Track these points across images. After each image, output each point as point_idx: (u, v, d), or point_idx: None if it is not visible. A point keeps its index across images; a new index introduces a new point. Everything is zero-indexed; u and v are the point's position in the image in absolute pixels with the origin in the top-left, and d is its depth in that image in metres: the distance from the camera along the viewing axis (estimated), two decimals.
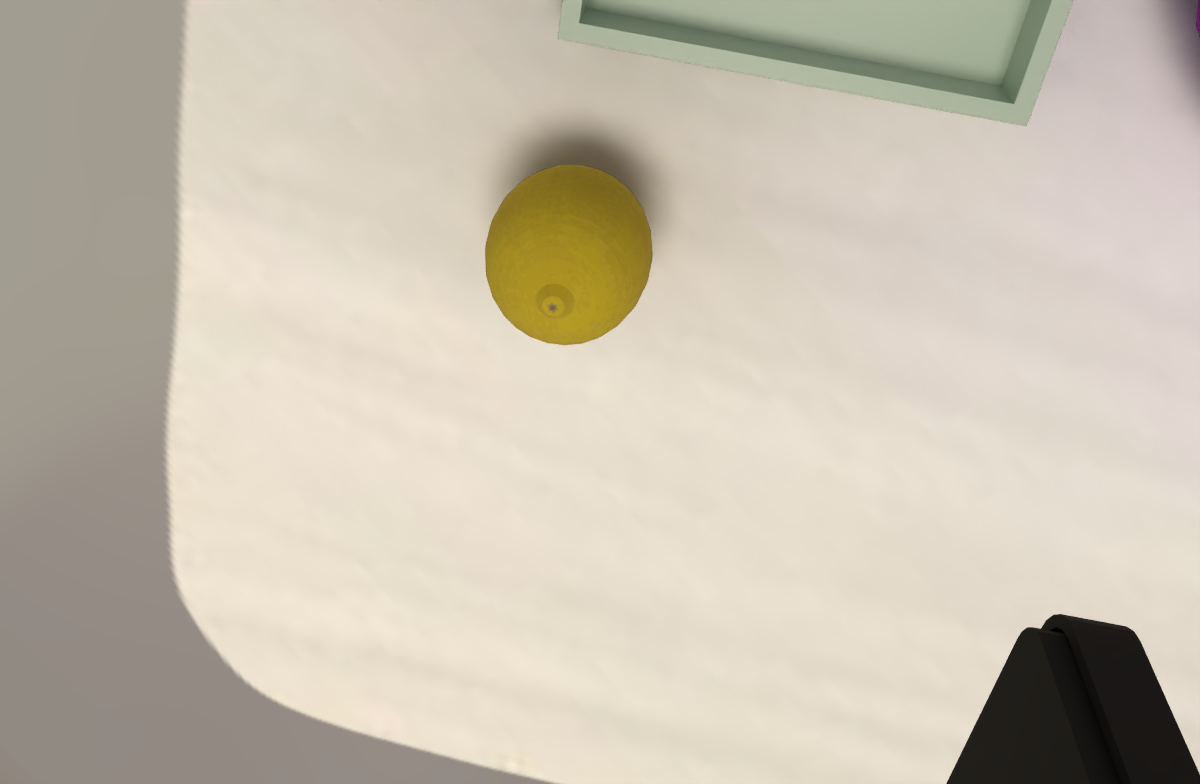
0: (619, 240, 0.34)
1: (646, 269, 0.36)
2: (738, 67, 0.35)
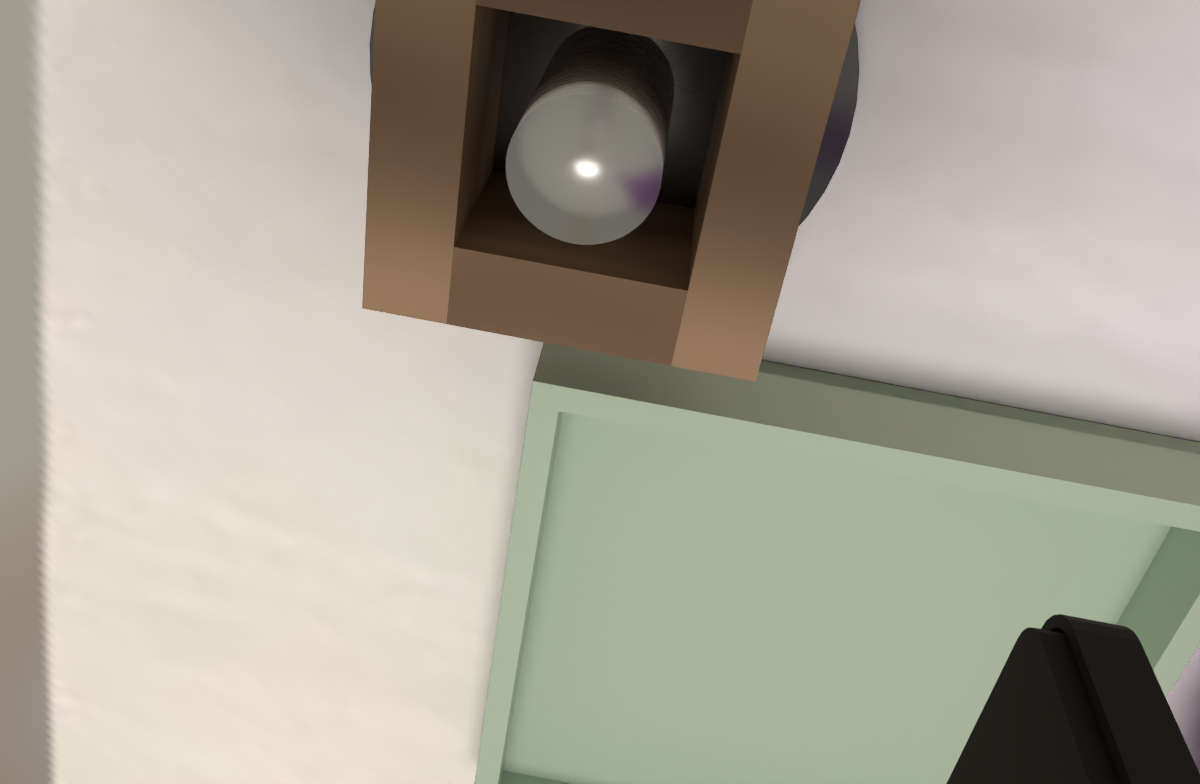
0: None
1: None
2: None
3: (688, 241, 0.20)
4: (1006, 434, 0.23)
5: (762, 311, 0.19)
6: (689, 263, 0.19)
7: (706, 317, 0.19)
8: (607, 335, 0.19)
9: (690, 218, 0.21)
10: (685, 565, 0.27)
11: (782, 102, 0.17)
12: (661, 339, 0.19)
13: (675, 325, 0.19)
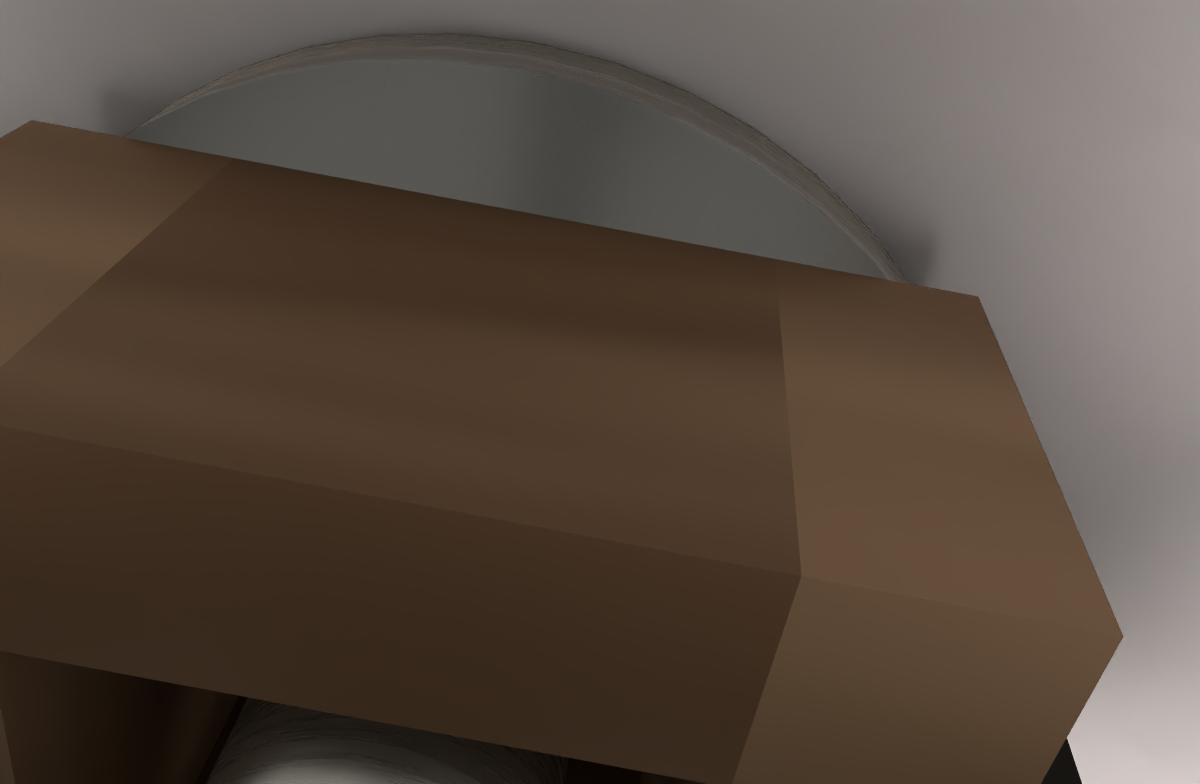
0: None
1: None
2: None
3: None
4: None
5: None
6: None
7: None
8: None
9: None
10: None
11: None
12: None
13: None
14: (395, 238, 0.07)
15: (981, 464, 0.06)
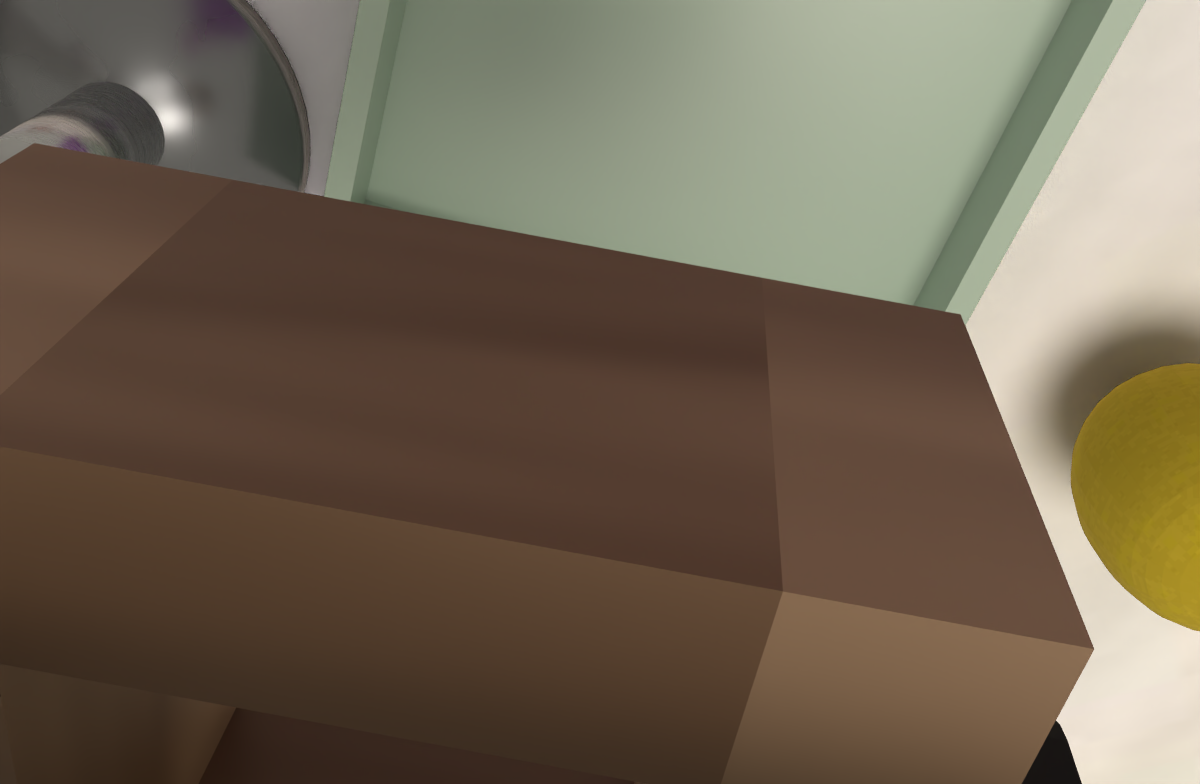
0: None
1: None
2: (1015, 220, 0.24)
3: None
4: None
5: None
6: None
7: None
8: None
9: None
10: (603, 131, 0.26)
11: None
12: None
13: None
14: (389, 258, 0.08)
15: (960, 481, 0.06)
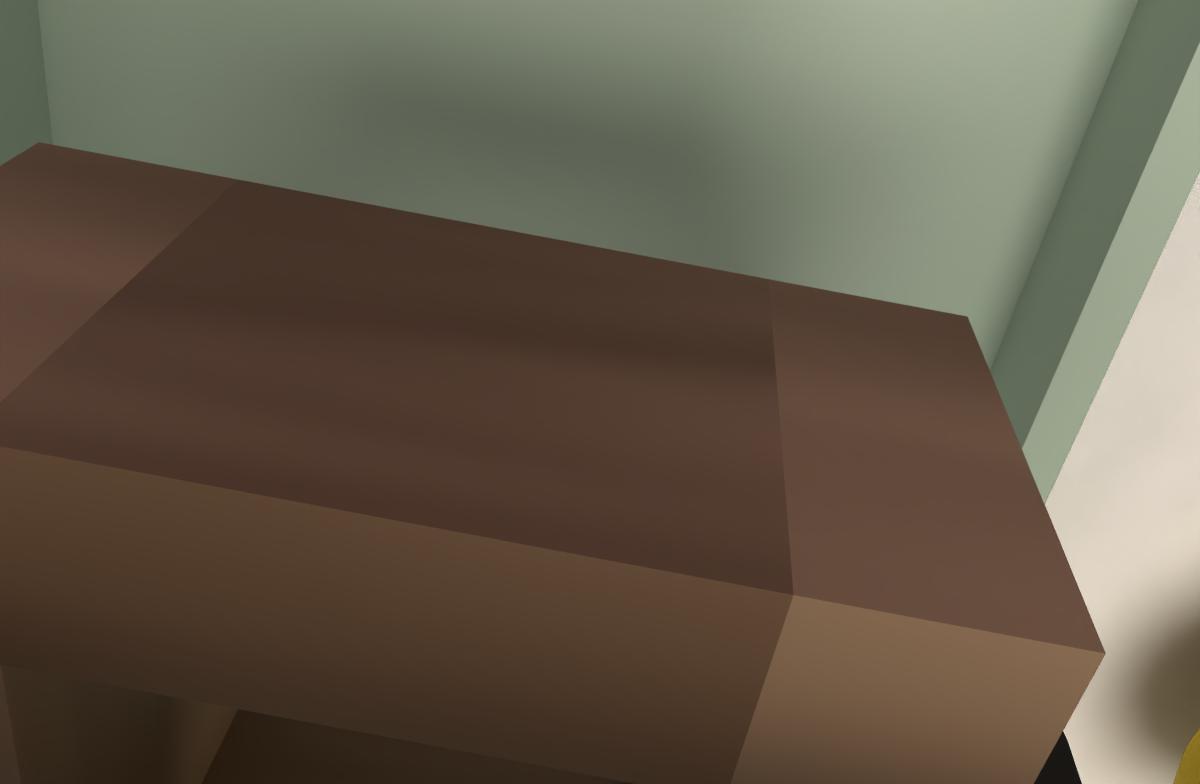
0: None
1: None
2: None
3: None
4: None
5: None
6: None
7: None
8: None
9: None
10: None
11: None
12: None
13: None
14: (396, 259, 0.08)
15: (969, 485, 0.06)
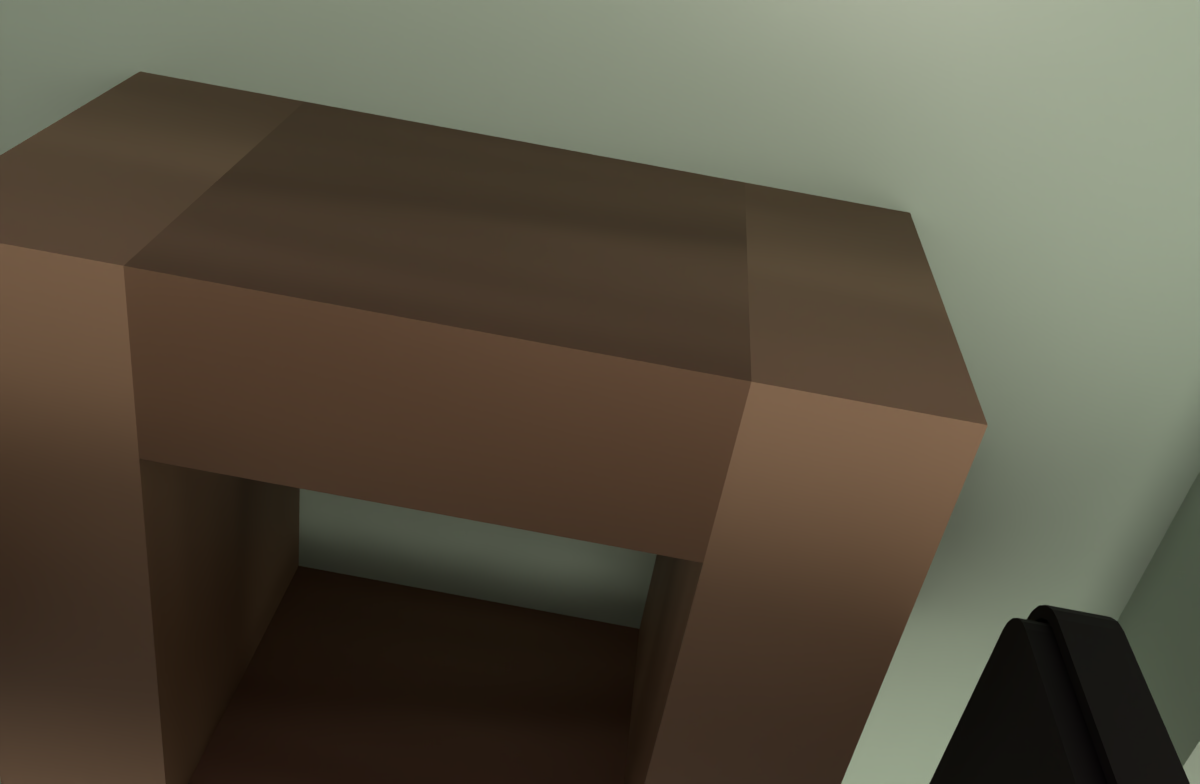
0: None
1: None
2: None
3: (623, 731, 0.12)
4: None
5: None
6: None
7: None
8: None
9: (630, 659, 0.12)
10: None
11: (793, 643, 0.08)
12: None
13: None
14: (438, 159, 0.09)
15: (897, 321, 0.08)
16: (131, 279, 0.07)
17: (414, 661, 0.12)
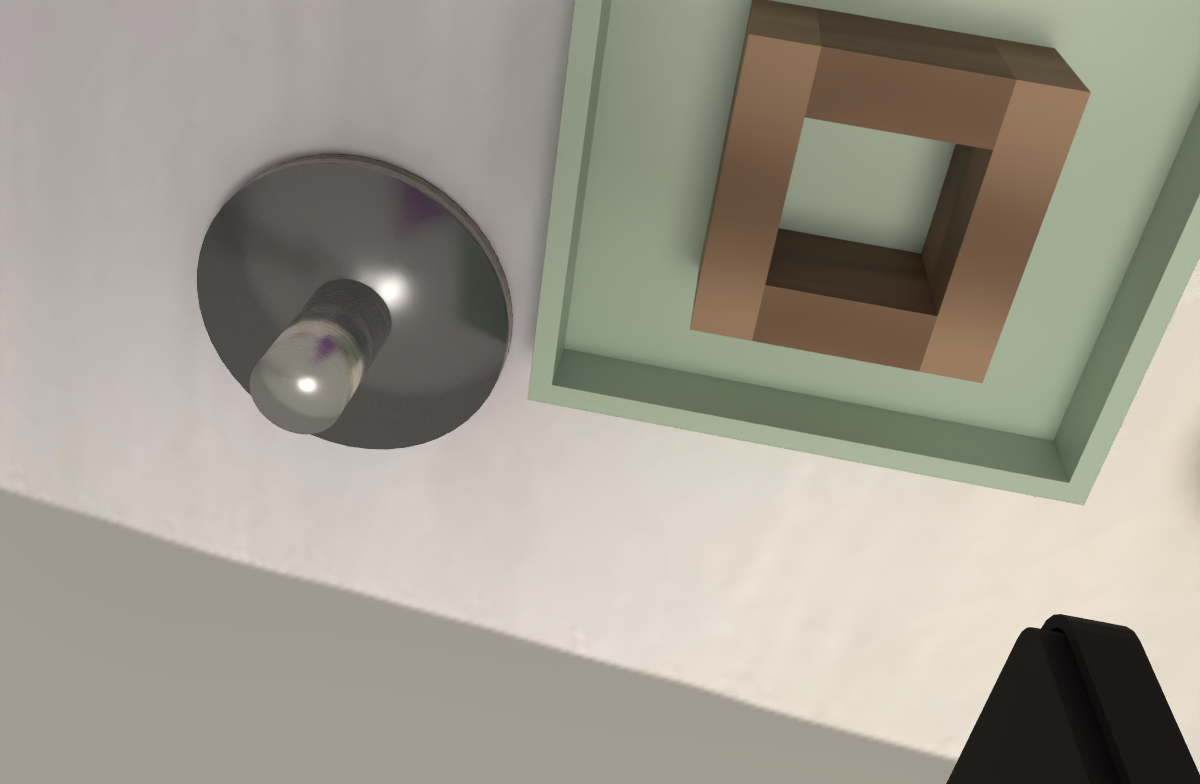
0: None
1: None
2: (1166, 313, 0.26)
3: (925, 279, 0.27)
4: None
5: (992, 331, 0.26)
6: (932, 295, 0.26)
7: (949, 335, 0.26)
8: (873, 349, 0.26)
9: (920, 261, 0.28)
10: None
11: (1020, 182, 0.24)
12: (913, 352, 0.26)
13: (925, 341, 0.26)
14: (879, 26, 0.25)
15: (1057, 72, 0.24)
16: (819, 52, 0.23)
17: (831, 255, 0.28)
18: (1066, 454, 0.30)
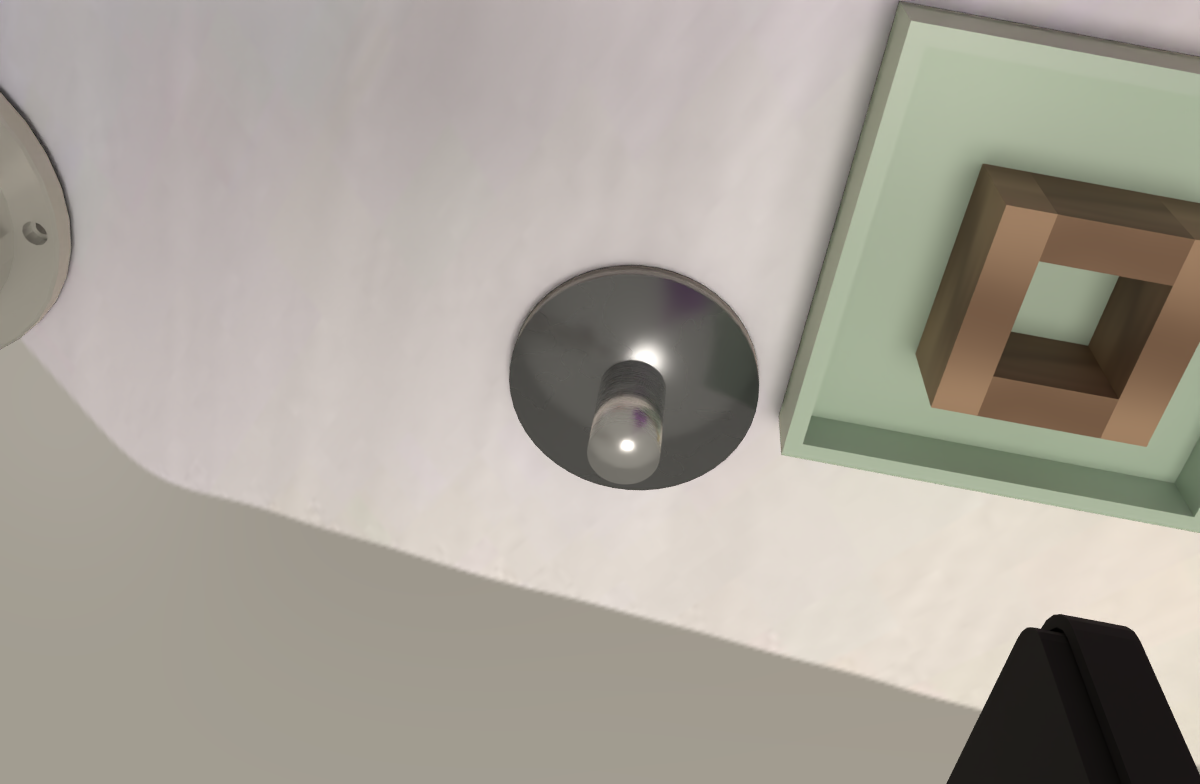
0: None
1: None
2: None
3: (1099, 367, 0.36)
4: (855, 177, 0.35)
5: (1158, 410, 0.35)
6: (1109, 382, 0.36)
7: (1126, 412, 0.35)
8: (1067, 422, 0.35)
9: (1089, 352, 0.37)
10: None
11: (1190, 308, 0.33)
12: (1098, 424, 0.35)
13: (1107, 417, 0.35)
14: (1080, 189, 0.34)
15: None
16: (1055, 217, 0.32)
17: (1026, 349, 0.37)
18: (1189, 495, 0.39)
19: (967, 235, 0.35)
